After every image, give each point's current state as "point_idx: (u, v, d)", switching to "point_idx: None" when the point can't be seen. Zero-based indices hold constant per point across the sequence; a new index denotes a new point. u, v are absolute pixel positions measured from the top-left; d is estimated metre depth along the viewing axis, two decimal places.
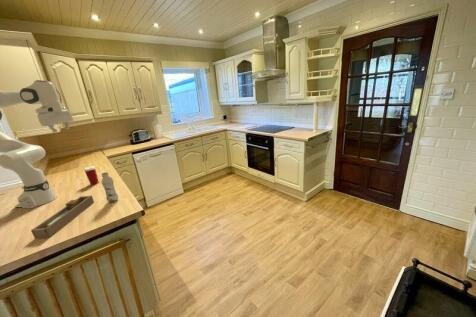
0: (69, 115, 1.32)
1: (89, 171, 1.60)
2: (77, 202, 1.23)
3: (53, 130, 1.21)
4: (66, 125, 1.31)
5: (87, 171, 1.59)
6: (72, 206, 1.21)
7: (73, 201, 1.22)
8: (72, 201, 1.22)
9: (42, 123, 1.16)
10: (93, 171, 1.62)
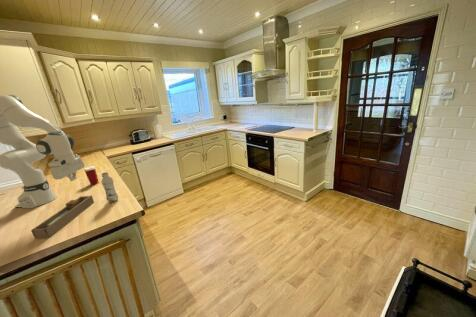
0: (81, 162, 1.29)
1: (89, 171, 1.60)
2: (77, 202, 1.23)
3: (71, 179, 1.23)
4: (73, 175, 1.25)
5: (87, 171, 1.59)
6: (72, 206, 1.21)
7: (73, 201, 1.22)
8: (72, 201, 1.22)
9: (55, 177, 1.13)
10: (93, 171, 1.62)
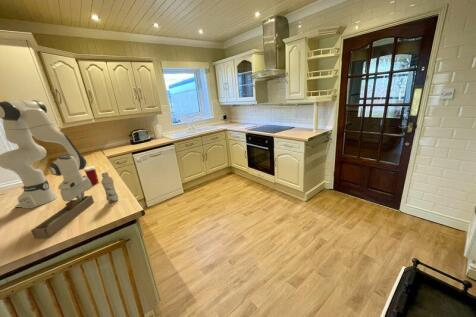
0: (88, 182, 1.34)
1: (89, 171, 1.60)
2: (77, 202, 1.23)
3: (79, 199, 1.27)
4: (81, 195, 1.30)
5: (87, 171, 1.59)
6: (72, 206, 1.21)
7: (73, 201, 1.22)
8: (72, 201, 1.22)
9: (65, 199, 1.18)
10: (93, 171, 1.62)
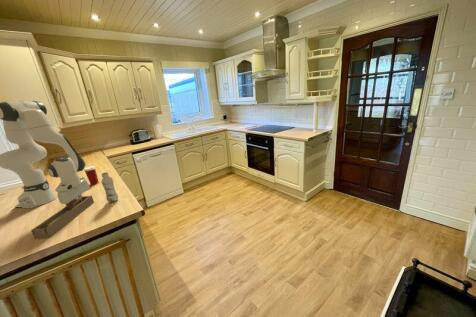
0: (86, 184, 1.32)
1: (89, 171, 1.60)
2: (77, 202, 1.23)
3: None
4: (79, 197, 1.28)
5: (87, 171, 1.59)
6: (72, 206, 1.21)
7: (73, 201, 1.22)
8: (72, 202, 1.22)
9: (62, 202, 1.16)
10: (93, 171, 1.62)
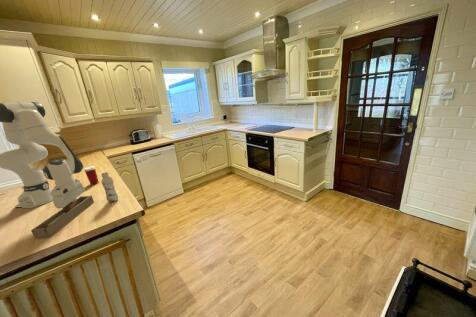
0: (81, 187, 1.28)
1: (89, 171, 1.60)
2: (74, 204, 1.21)
3: None
4: None
5: (87, 171, 1.59)
6: (69, 209, 1.18)
7: (70, 203, 1.19)
8: (69, 204, 1.19)
9: (57, 206, 1.12)
10: (93, 171, 1.62)
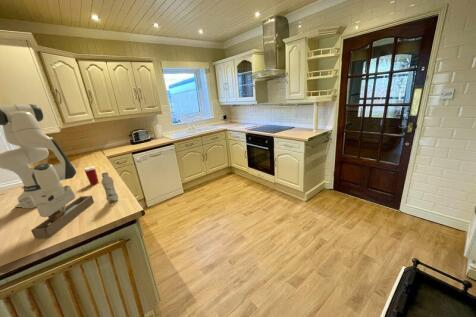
0: (71, 193, 1.20)
1: (89, 171, 1.60)
2: (61, 214, 1.12)
3: None
4: (62, 209, 1.15)
5: (87, 171, 1.59)
6: (55, 218, 1.09)
7: (56, 213, 1.11)
8: (55, 213, 1.10)
9: (42, 215, 1.04)
10: (93, 171, 1.62)
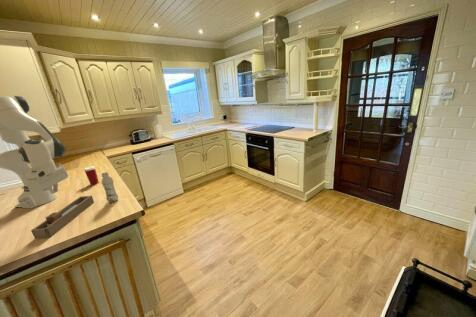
0: (64, 172, 1.16)
1: (89, 171, 1.60)
2: (59, 215, 1.11)
3: (51, 191, 1.10)
4: (54, 187, 1.12)
5: (87, 171, 1.59)
6: (53, 220, 1.08)
7: (54, 214, 1.10)
8: (53, 215, 1.09)
9: (32, 191, 1.00)
10: (93, 171, 1.62)
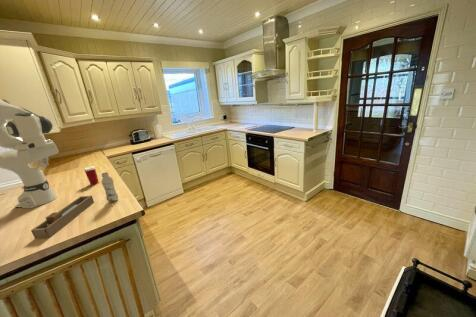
0: (54, 147, 1.20)
1: (89, 171, 1.60)
2: (59, 215, 1.11)
3: (42, 164, 1.14)
4: (45, 161, 1.16)
5: (87, 171, 1.59)
6: (53, 220, 1.08)
7: (54, 214, 1.10)
8: (53, 215, 1.09)
9: (22, 161, 1.04)
10: (93, 171, 1.62)
